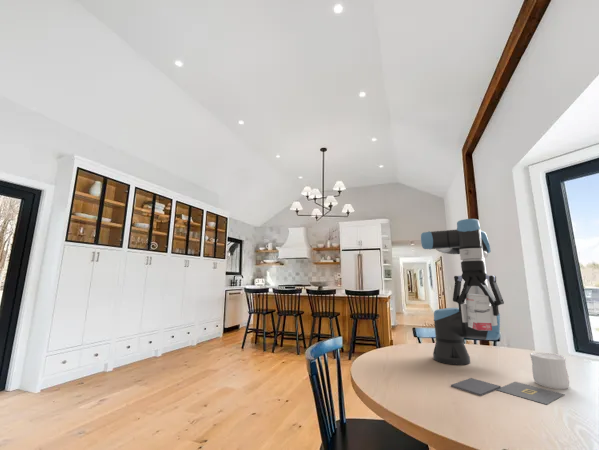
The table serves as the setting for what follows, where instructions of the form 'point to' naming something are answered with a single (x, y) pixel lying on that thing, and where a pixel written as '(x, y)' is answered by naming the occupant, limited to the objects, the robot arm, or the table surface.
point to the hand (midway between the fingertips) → (479, 323)
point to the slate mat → (530, 392)
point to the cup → (550, 370)
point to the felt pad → (475, 386)
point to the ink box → (478, 312)
